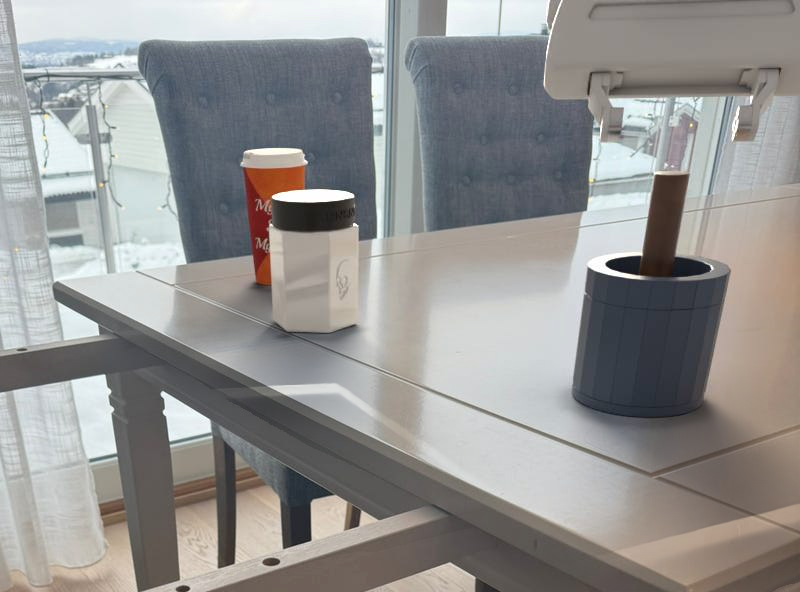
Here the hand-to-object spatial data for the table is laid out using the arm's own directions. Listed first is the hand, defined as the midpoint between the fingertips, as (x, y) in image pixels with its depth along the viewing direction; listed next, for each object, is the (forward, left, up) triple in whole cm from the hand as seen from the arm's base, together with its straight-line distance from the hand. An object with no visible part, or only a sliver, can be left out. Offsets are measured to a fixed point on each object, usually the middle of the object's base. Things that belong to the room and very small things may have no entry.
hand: (676, 136), depth 68 cm
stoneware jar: (+2, +3, -18) cm, 19 cm away
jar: (+16, -30, -18) cm, 39 cm away
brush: (+2, +3, -17) cm, 18 cm away
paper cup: (+12, -50, -18) cm, 55 cm away
